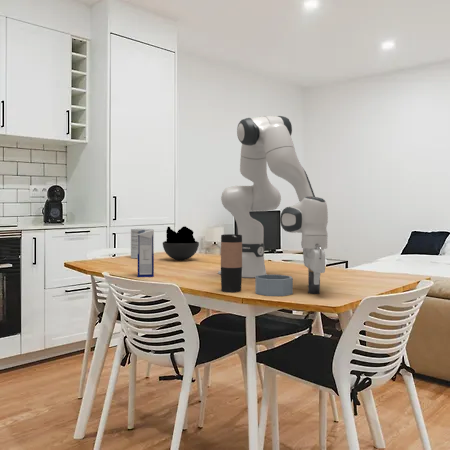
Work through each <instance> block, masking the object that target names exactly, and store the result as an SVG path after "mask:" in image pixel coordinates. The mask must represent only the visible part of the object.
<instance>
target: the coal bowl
mask: <svg viewBox="0 0 450 450" xmlns="http://www.w3.org/2000/svg"><path fill="white" fill-rule="evenodd" d="M165 235H166V240H165V241H163V242H162V248H163V250H164V252H165V254H166V255H167V256H168V257H170V259H173V260H175V261H180V260H181V261H186V260H189V259H191V258H192V257H193V256H195V255H196V253H197V252H198V250H199V247H200V242H198V240H196V239H195V237H194V231H193V230H192V229H190V228H188V227H187V226H185V225H184V226H182V227H181V228H180V229H178V230H177V232H176V231H175V230H173V229H171V227H170V226H167V228H166V234H165Z"/></svg>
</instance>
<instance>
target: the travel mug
mask: <svg viewBox="0 0 450 450" xmlns="http://www.w3.org/2000/svg"><path fill="white" fill-rule="evenodd" d="M220 271H221V274H220V285H221V287H220V288H221V290H220V291H221V292H224V293H239V292H241V291H242V284H243V283H242V280H243V279H242V278H243V277H242V235H238V233H237V234H236V233H235V234H233V233H232V234H221V237H220Z"/></svg>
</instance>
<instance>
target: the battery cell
mask: <svg viewBox="0 0 450 450" xmlns="http://www.w3.org/2000/svg"><path fill="white" fill-rule="evenodd" d="M307 274H308V276H307V277H308V282H307V283H308V284H307V287H308V289H307V290H308V291H307V292H308V294H309V293H310V295H320V294H321V291H320V290H321V278H320V279H319V284H318V285H315V284H314V283H313V279H314V272H313V271H312V270H310V268H308V269H307Z"/></svg>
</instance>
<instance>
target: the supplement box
mask: <svg viewBox="0 0 450 450" xmlns="http://www.w3.org/2000/svg"><path fill="white" fill-rule="evenodd" d="M141 230H145V231H149V230H154V229H153V228H131V229H130V259H135V258H137V259H136V260H138V234H139V233H138V231H141Z"/></svg>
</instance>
